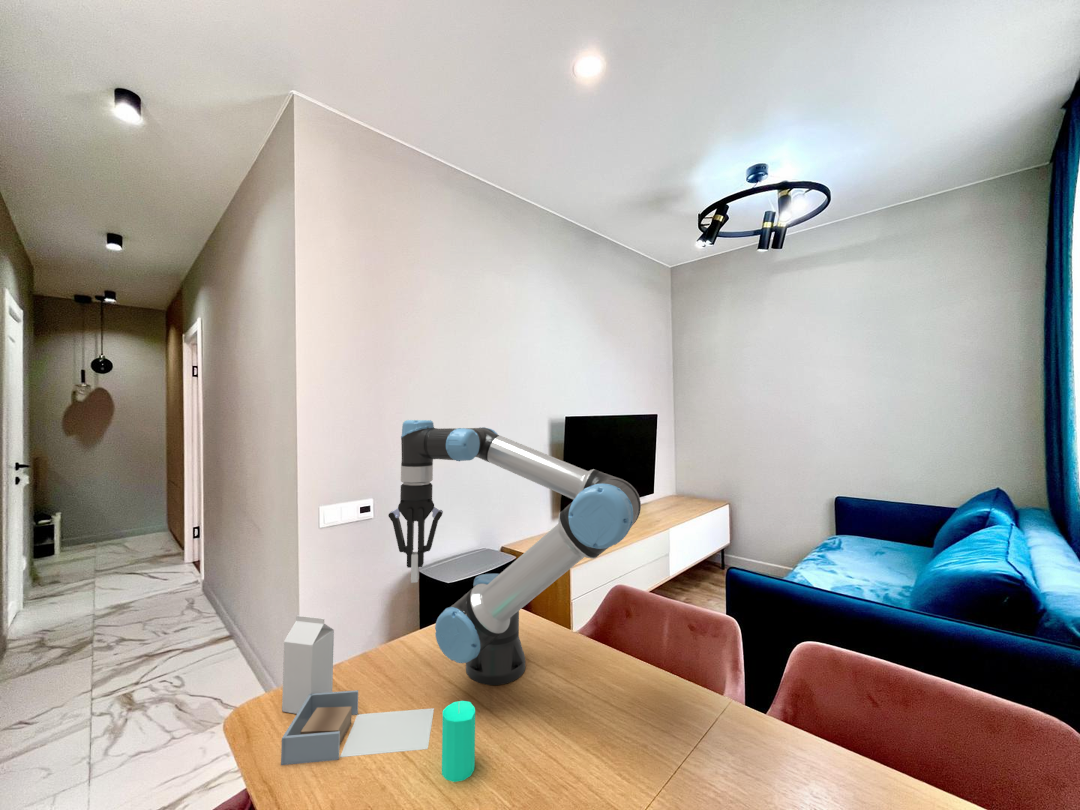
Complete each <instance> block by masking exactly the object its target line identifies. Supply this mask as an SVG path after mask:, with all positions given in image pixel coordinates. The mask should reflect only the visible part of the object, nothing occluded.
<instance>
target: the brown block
mask: <svg viewBox="0 0 1080 810" xmlns="http://www.w3.org/2000/svg"><path fill="white" fill-rule="evenodd" d="M352 716H353V715H352V707H321V708H316V710H315V711H314V713H313V714H312V716H311V717H310V719H309V720H308V722H307V723H306V724H305V726H304V727H303V729H302V730H301V733H300V735H302V734H313V733H325V732H337V731H340V745H341V744H342V742H343V740H344V738H345V737H346V734H347V732H348V731H349V728H350V727H351V726H352Z"/></svg>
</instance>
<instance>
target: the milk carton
mask: <svg viewBox="0 0 1080 810" xmlns="http://www.w3.org/2000/svg"><path fill="white" fill-rule="evenodd" d="M334 639H335V629H333V628H332V627H330V626H329V625H328V624H326V623H325V618H322V617H315V616H307V615H306V616H304V615H296V616H295V622H294V623H293V625H292V626H291V629H290V630H289V632H288V634H287V635H286V637H285V639H284V640H283V663H282V664H283V665H282V667H283V668H282V669H283V671H282V696H281V697H282V699H281V700H282V702H281V710H282V712H284V713H290V714H296V715H297V713H298V712H299V710H300V708H301V707H302V705H303V704H304V702H305V700H306V699H307V697H308V696H309V694H314V693H328V692H333V685H334V684H333V680H334V678H333V676H334V649H335V648H334V646H335V645H334Z"/></svg>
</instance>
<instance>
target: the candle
mask: <svg viewBox="0 0 1080 810" xmlns="http://www.w3.org/2000/svg"><path fill="white" fill-rule="evenodd" d="M441 721H442V722H441V723H442V725H441V726H442V730H441V731H442V733H441V734H442V736H441V775H442V777H443V778H444V779H445V780H446V781H450V782H453V783H457V782H462V781H465V780H466V779H468V778H469V777H471V776H472V775H473V773H474V771H475V762H476V760H475V759H476V756H475V755H476V753H475V752H476V748H475V747H476V707H475V706H474V705H473V704H472V702H471V701H467V700H459V701H454V702H452V703H450V704H448V705H447V706H446V707H445V708H444V709H443V710H442V720H441Z"/></svg>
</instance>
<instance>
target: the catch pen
mask: <svg viewBox="0 0 1080 810" xmlns="http://www.w3.org/2000/svg"><path fill="white" fill-rule="evenodd" d="M321 707H352V716H354V715H355V716H357V715H358V713H359V690H344V691H332V692H328V693H314V694H309V696H308V697H307V699H306V700H305V702H304V704H303V705H302V707H301V708H300V710H299V712H298V713H297V714H296V715H295V717H294V718H293V720H291V723H290V725H289V726H288V727H287V729H286V731H285V732H284V733H283V736H282V737H281V749H280V750H281V751H280V753H281V755H280V766H286V765H287V766H288V765H297V764H308V763H309V764H310V763H319V762H331V761H339V760H340V745H341V744H340V731H337V732H325V733H313V734H302V735H300V733H301V730H302V729H303V727H304V726H305V724H306V723H307V722H308V720H309V719H310V717H311V716H312V714H313V713H314V711H315V710H316V708H321Z"/></svg>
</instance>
